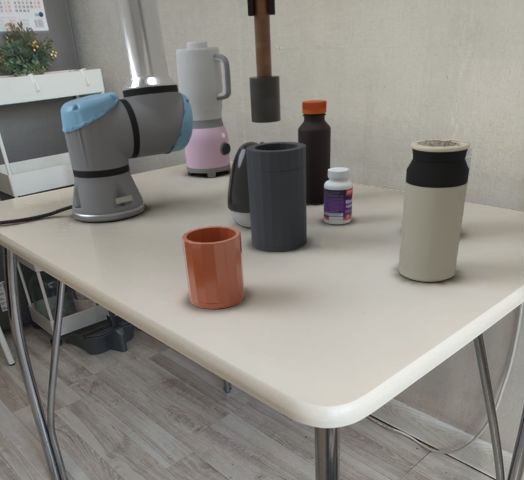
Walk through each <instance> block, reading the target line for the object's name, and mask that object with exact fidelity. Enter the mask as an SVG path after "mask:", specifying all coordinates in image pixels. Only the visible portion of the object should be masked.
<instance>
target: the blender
mask: <svg viewBox="0 0 524 480" xmlns="http://www.w3.org/2000/svg"><path fill="white" fill-rule="evenodd" d="M175 57H176V58H175V59H176V72H177V73H176V74H177V81H178V91H179V93H182V94H184V95H186V96H187V98H188V99H189V103H190V104H191V108H192V113H193V130H192V135H191V138H190V141H189V143H188V145H187V146H186V147H185V148H184V154H185V155H184V156H185V161H186V172H187V176H191V174H206V175H207V178H216V175H217V173H219V172H224V171H227V173H229V174H230V172H231V168H232V166H231V158H230V153H231V145H230V142H229V141H230V140H229V134H228V130H227V129H226V126H225V124H224V121H223V115H222V114H223V101H224V100H227V99H229V98H230V97H231V95H232V80H231V78H232V77H231V68H230V67H231V66H230V60H229V59H228V57H227V56H226V55H224V54H222V53H220V49H219V47H218V46H210V47H208V42H207V41H206V40H205V41H203V40H202V41H189V42H188V41H187V42H186V48H177V49H176V50H175ZM222 72H223V73H222ZM223 86H224V87H223Z"/></svg>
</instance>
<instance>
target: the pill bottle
mask: <svg viewBox="0 0 524 480" xmlns="http://www.w3.org/2000/svg"><path fill="white" fill-rule="evenodd" d="M350 171H351V170H350V168H349V167H341V166H339V167H338V166H337V167H330V169H328V178H329V180H328V181H326V182H325V184H324V203H323V222H325V223H326V224H329V225H344V224H346V225H347V224H349V223H350V222H351V221H352V218H353V195H354V194H353V193H354V192H353V191H354V184H353V182H352V181H351V180H350V179H349V178H350Z"/></svg>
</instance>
